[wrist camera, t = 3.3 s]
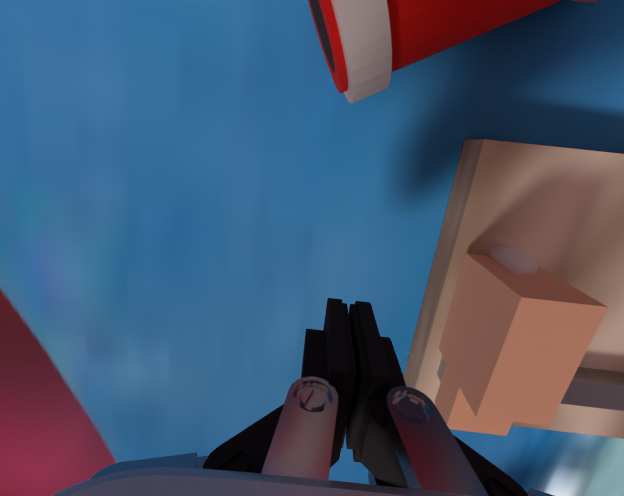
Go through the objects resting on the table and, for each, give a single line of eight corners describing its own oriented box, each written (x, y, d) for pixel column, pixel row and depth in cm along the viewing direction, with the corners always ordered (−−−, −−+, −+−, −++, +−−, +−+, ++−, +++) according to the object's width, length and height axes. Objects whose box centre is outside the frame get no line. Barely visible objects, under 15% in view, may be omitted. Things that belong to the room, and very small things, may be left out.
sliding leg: (532, 246, 14) (617, 288, 10) (479, 390, 17) (527, 469, 13) (470, 239, 14) (528, 279, 10) (427, 384, 17) (459, 461, 13)
